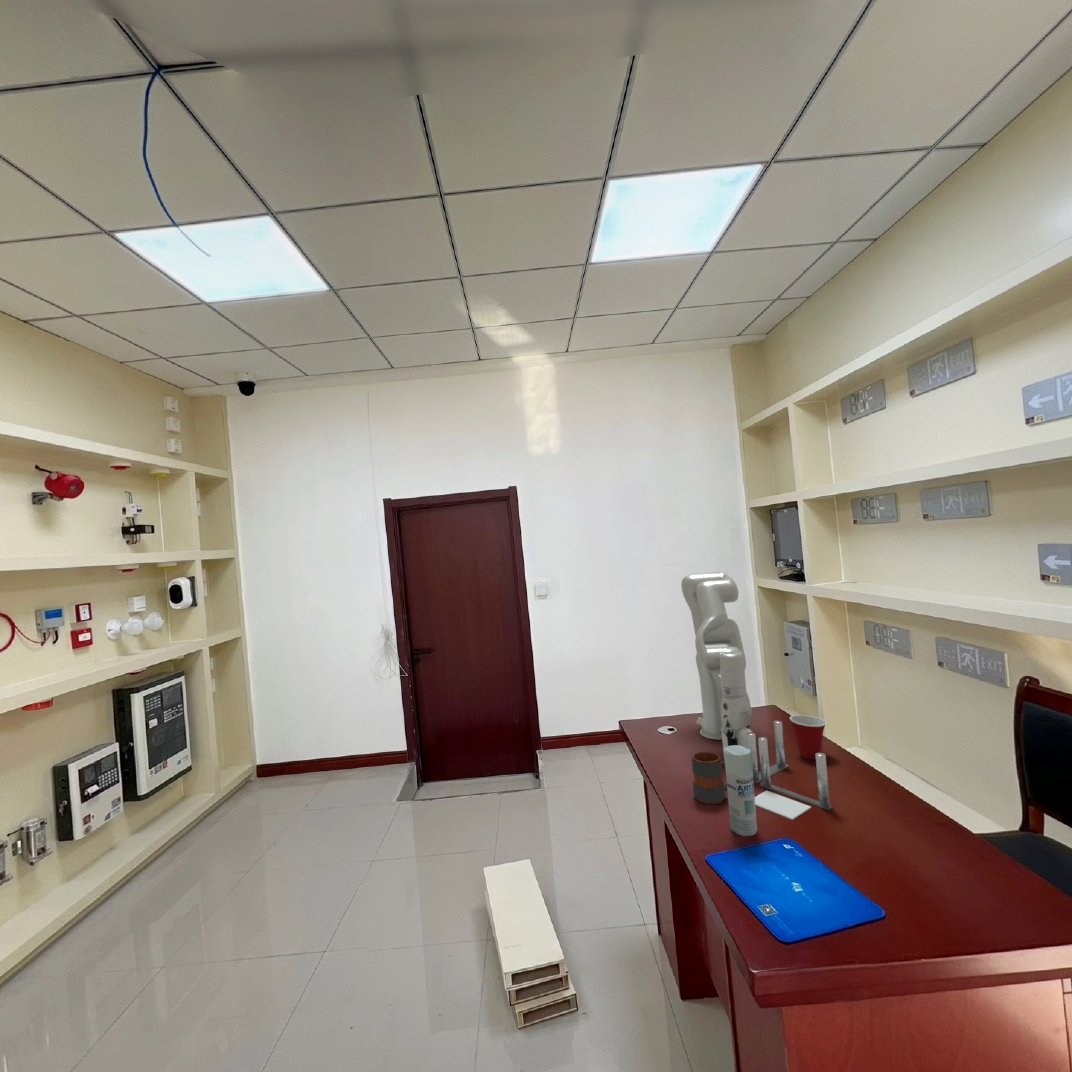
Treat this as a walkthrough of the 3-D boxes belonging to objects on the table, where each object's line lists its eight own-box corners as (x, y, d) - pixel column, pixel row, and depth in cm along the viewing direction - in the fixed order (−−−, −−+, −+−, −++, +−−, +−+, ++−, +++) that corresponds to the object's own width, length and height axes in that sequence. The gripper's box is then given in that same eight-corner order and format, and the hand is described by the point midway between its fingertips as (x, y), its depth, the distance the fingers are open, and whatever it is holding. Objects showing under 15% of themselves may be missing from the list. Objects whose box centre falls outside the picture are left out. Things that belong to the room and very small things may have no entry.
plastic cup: (837, 760, 172) (833, 722, 173) (804, 764, 172) (800, 726, 172) (817, 747, 183) (814, 712, 183) (786, 751, 183) (783, 715, 183)
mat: (747, 802, 151) (747, 801, 151) (766, 791, 156) (766, 790, 156) (792, 820, 140) (792, 818, 140) (811, 808, 145) (811, 806, 145)
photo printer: (722, 761, 178) (718, 723, 179) (729, 757, 181) (726, 720, 181) (751, 770, 170) (748, 730, 171) (758, 765, 173) (755, 726, 173)
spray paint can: (744, 820, 142) (738, 743, 142) (763, 832, 136) (756, 751, 136) (724, 827, 139) (718, 748, 140) (742, 839, 133) (735, 757, 134)
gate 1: (747, 780, 164) (743, 733, 164) (779, 763, 174) (776, 719, 174) (756, 783, 162) (752, 736, 162) (788, 766, 171) (784, 721, 171)
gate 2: (759, 786, 160) (755, 738, 160) (764, 783, 161) (760, 736, 161) (828, 810, 143) (823, 757, 144) (832, 807, 145) (828, 754, 145)
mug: (741, 804, 150) (737, 762, 150) (696, 805, 151) (692, 763, 152) (734, 790, 158) (730, 750, 159) (691, 791, 160) (688, 751, 160)
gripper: (727, 699, 168) (732, 758, 168) (760, 687, 178) (764, 743, 178) (707, 694, 174) (711, 751, 174) (740, 683, 184) (744, 737, 184)
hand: (738, 746), depth 176 cm, fingers open, 5 cm apart
